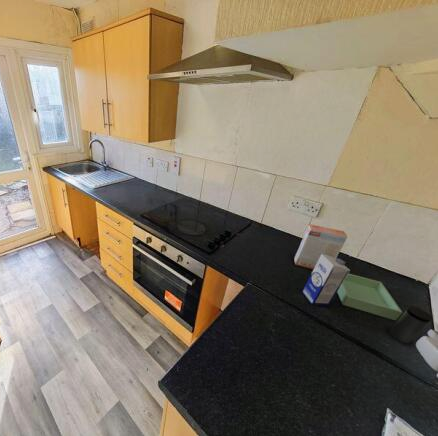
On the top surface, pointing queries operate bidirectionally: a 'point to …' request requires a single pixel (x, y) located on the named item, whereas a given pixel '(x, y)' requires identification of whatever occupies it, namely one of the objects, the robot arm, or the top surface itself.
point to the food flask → (409, 324)
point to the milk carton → (325, 280)
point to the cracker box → (319, 245)
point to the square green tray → (368, 297)
